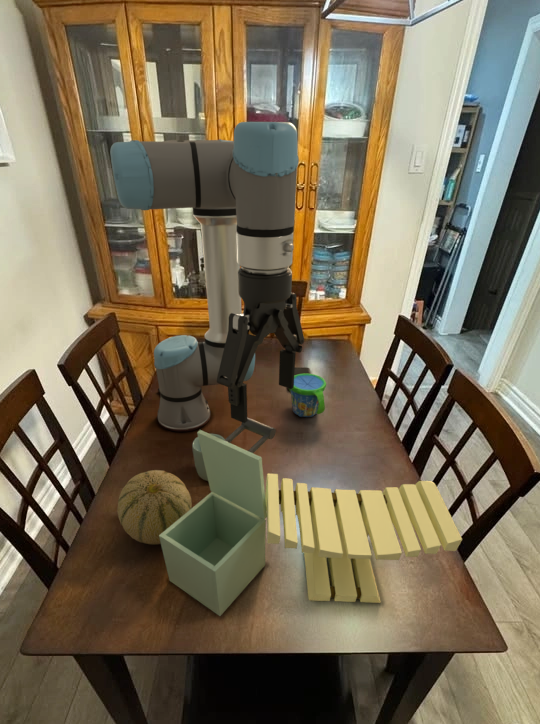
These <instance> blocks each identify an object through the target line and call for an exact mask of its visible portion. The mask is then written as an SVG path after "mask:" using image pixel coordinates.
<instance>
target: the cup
mask: <svg viewBox="0 0 540 724" xmlns="http://www.w3.org/2000/svg"><path fill="white" fill-rule="evenodd" d="M210 434H211V435H213V436H215V437H218V438H220V439H222V440H225V439H226V438H225V437H223V436H222V435H220V434H216V433H210ZM191 448H192V450H191V451H192V457H193V463H194V468H195V471H196V473H197V475H198V477H199V478H200V479H201V480H203V481H205V482H208V477H207V473H206V469H205V464H204V460H203V456H202V451H201V447H200V443H199V438H198V436H197V437H195V438H194V440H193V441H192V445H191Z"/></svg>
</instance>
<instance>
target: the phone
mask: <svg viewBox="0 0 540 724" xmlns="http://www.w3.org/2000/svg"><path fill="white" fill-rule="evenodd" d="M298 374H311V368H310V367H307V366H306V367H305V366H304V367H303V366H302V367H301V366H299V367H298V366H297V367H296V366H295V372H294V376H295V375H298ZM287 389H288V390H289V388H287Z"/></svg>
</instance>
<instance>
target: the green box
mask: <svg viewBox="0 0 540 724" xmlns="http://www.w3.org/2000/svg"><path fill="white" fill-rule="evenodd" d="M266 534H267V519H265V520H264V519H263V518H261V517H259V516H257V515H255V514H253V513H251V512H249V511H247V510H246V509H244V508H242V507H240V506H238V505H236V504H234V503H232V502H231V501H229V500H227V499H225V498H223V497H221V496H219V495H217V494H216V493H214V492H212V491H210V493H209V494H207V495H206V496H205V497H203V498H202V499H200V501H199V502H197V503H196V504H195V505H194V506H192V508H191V509H190V510H189V511H188V512H187V513H186V514H184V515H183V516H182V517H181V518H180V519H178V520H177V521H176V522H175V523H173V524H172V525H171V526H170V527H169V528H167V529H166V530H165V531H164V532H163V533H161V534H160V535H159V538H160V542H161V544H160V546H161V550H162V556H163V559H164V564H165V568H166V573H167V576H168V581H169V582H170V583H172V584H174V586H176V587H178V588H179V589H181V590H182V591H183V592H185V593H186V594H187V595H189V596H190V597H192V598H193V599H194V600H195V601H198V602H199V603H200V604H202V605H203V606H204V607H206V608H207V609H209V610H211V611H212V612H213V613H214V614H216V615H217V616H219V617H221V616H222V615H223V614H224V613H225V611H226V610H227V609H228V608H229V607H230V606H231V605H232V603H233V602H234V601H235V600H236V599H237V598H238V597H239V596H240V595H241V593H242V592H243V591H245V589H246V588H247V586H248V585H249V584H250V583H251V582H252V581H253V580H254V579H255V577H256V576H257V575H258V574H259V573H260V572H261V571H262V570H263V568H264V567H265V566H266V537H267V535H266Z"/></svg>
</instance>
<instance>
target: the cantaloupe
mask: <svg viewBox="0 0 540 724" xmlns="http://www.w3.org/2000/svg"><path fill="white" fill-rule="evenodd" d="M192 505H193V503H192V496H191V494H190V492H189V490H188V489H187V486H186V484H185V483H184V482H183V481H182V480H181V479H180V478H179V477H178V476H177V475H175V474H173V473H171V472H168V471H165V470H160V469H154V470H153V469H152V470H148V471H144V472H140V473H138V474H136V475H134V476H132V477H131V478H130V479H129V480H128V481H127V482H126V483H125V486H123V488H122V490H121V491H120V494H119V496H118V499H117V509H116V510H117V511H116V512H117V513H116V514H117V517H118V520H119V522H120V525H121V526H122V529H123V530H124V532H125V533H126V534H127V535H128V536H129V537H130V538H132V540H135V541H137V542H139V543H143V544H148V545H161V542H160V538H159V535H160V534H161V533H163V532H164V531H165V530H166V529H167V528H169V527H170V526H171V525H172V524H173V523H175V522H176V521H177V520H178V519H180V518H181V517H182V516H183V515H184V514H186V513H187V512H188V511H189V510H190V509H192V508H193V506H192Z"/></svg>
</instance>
